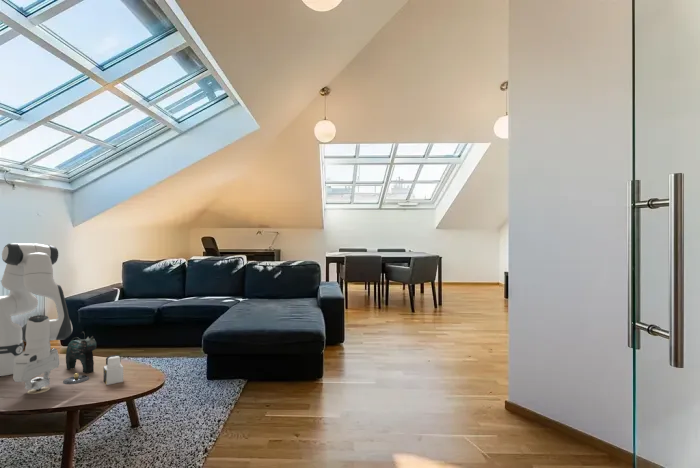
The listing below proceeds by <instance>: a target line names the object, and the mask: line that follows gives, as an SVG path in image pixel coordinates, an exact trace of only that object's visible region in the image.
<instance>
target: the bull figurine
mask: <svg viewBox="0 0 700 468" xmlns="http://www.w3.org/2000/svg"><path fill="white" fill-rule="evenodd" d="M81 334H84V335H83V336H84V337H83V338H82V339H81V338H79V337H77V336H76V337H72V339H71V340H70V342H69V343H68V344H67V347H66V351H65V352H66V353H65V364H66V365H65V366H66V369H67V370H73V368H74V369H75V368H76V366H77V364H76V363H77V360H78V361H79V362H80V363H81V365H82V374H83V373H84V374H90V373H93V372H94V366H95V365H94V364H95V361H94V353H93V351H94V350H96V349H97V341H96V340H95V338H94V336H93V335H92V336H91V337H89V336H87V337H86V335H85V334H86V333H85V331H81V332H80V335H81ZM74 339H75V340H74Z"/></svg>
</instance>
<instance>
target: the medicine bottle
mask: <svg viewBox="0 0 700 468" xmlns="http://www.w3.org/2000/svg"><path fill="white" fill-rule="evenodd" d="M103 382H104V385H106V386H109V385H114V384H119V383H123V382H124V366H123V364H122V356H121V355H118V354H114V355H113V354H112V355H109V356H107V357H106V358H105V365H104V366H103Z"/></svg>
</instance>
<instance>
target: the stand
mask: <svg viewBox="0 0 700 468" xmlns="http://www.w3.org/2000/svg"><path fill="white" fill-rule="evenodd" d="M39 380H41V378H38V379H36V381H39ZM50 389H51V386H45V387H43V388H40V389H28V390H27V392H26V393H27V394H29V395H35V394H41V393H45V392H47V391H49V390H50Z"/></svg>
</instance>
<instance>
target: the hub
mask: <svg viewBox="0 0 700 468" xmlns="http://www.w3.org/2000/svg"><path fill="white" fill-rule="evenodd" d="M79 374H80V373H79V372H75V373H74V374H73V376H70V377H68V378H65V379H63V381H62V383H63V384H65V385H74V384H79V383H83V382H86V381H88V380H89V379H90V377H89V375H86V374H85V375H83V374H81V375H79Z"/></svg>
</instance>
